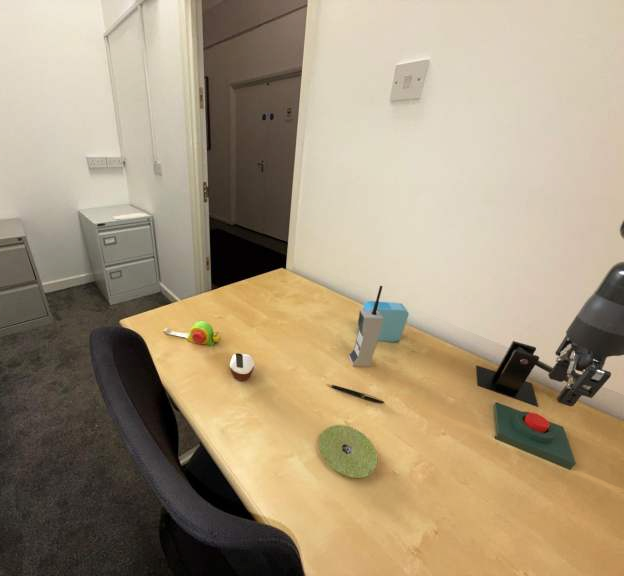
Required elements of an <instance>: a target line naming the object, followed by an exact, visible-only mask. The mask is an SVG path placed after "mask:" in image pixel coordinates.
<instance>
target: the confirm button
mask: <svg viewBox="0 0 624 576" xmlns="http://www.w3.org/2000/svg"><path fill="white" fill-rule="evenodd" d="M548 421H549V420H548V419H547V418H545V417H544V416H542V415H541V414H539V413H535V412H530V413H528V414H527V416H526V417H525V419H524V422H525V423H526V425H527V426H529V427H530V428H532V429H533V430H536V431H538V432H541V433H543V432H546V430H547V429H548V428H549V426H550V423H549V422H550V421H549V422H548Z"/></svg>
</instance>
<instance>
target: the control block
mask: <svg viewBox="0 0 624 576" xmlns="http://www.w3.org/2000/svg"><path fill="white" fill-rule="evenodd" d="M492 408H493V415H494V425H495V426H494V427H495V435H494V439H495V440H496V441H498V442H501V443H503V444H506V445H509V446H511V447H514V448H515V449H518V450H521V451H522V452H525V453H528V454H530V455H532V456H535V457H537V458H539V459H543V460H544V461H547V462H549V463H552V464H554V465H556V466H558V467H562V468H564V469H566V470H569V471H571V470H572V469H573V468H574V466H575V465H576V460H575V457H574V454H573V451H572V448H571V446H570V442H569V440H568V437H567V433H566V431H565V428H564V426H563V425H560V424H557V423H554V422H552V421H550V420H548V422H549V423H550V426H549V428H548V429H547V430H546V432H543V433H541V432H538V431H536V430H533V429H532V428H530V427H529V426H527V425H526V423H525V422H524V419H525V417H526V416H527V414H528V413H531V412H530V411H522V410H519V409H517V408H513V407H511V406H508V405H505V404H502V403H499V402H497V401H495V402H494V403H493V405H492Z"/></svg>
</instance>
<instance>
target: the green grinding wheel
mask: <svg viewBox="0 0 624 576" xmlns="http://www.w3.org/2000/svg"><path fill="white" fill-rule="evenodd" d="M318 439H319V440H318V447H319V451H320V454H321V455H322V458H323V459H324V460H325V462H326V463H327V464H328V466H330V467H331V468H332V469H333V470H334V471H336V472H338V473H339V474H341V475H344V476H345V477H348V478H354V479H358V478H359V479H360V478H366V477H368V476H370V475H371V474H372V473H373V472H374V471H375V470H376V468H377V464H378V454H377V451H376V448H375V446H374V444H373V443H372V442H371V440H370V439H369V437H367V436H366V435H365V434H364V433H362V432H361V431H360V430H358V429H357V428H355V427H351V426H349V425H344V424H334V425H331V426H328V427H326V428H325V429H324V430H323V431H322V432H321V434H320V436H319V438H318Z"/></svg>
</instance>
